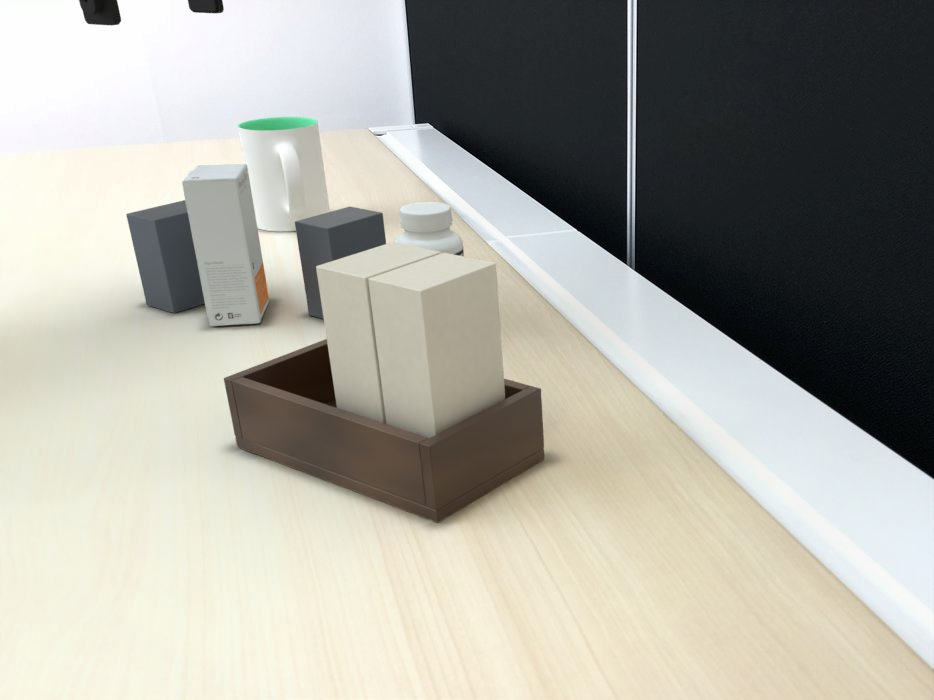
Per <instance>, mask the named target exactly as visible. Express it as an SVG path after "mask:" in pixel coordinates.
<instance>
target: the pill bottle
mask: <svg viewBox="0 0 934 700" xmlns="http://www.w3.org/2000/svg"><path fill="white" fill-rule="evenodd" d="M399 219H400V220H399V221H400V227H401V229H403V230H404V232H402V233H401V234H399V235H398V236H397V237H396V239H395V241H394V242H395V243H400V244H405V245H410V246H415V247H419V248H424V249H429V250H434V251H439V252H441V254H442V253H449V254H453V255H458V256H463V257H465V254H464V253H465V251H464V241H463V239H462V237H461V235H460V234H459V233H458V232H456V231H454V230H452V229H451V226H452V225H453V213H452V207H451V205H450V204H448V203H446V202H439V201H422V202H421V201H419V202H414V203H408V204H405V205H403V206H401V207H400V208H399Z"/></svg>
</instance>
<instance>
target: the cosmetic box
mask: <svg viewBox="0 0 934 700" xmlns="http://www.w3.org/2000/svg"><path fill="white" fill-rule="evenodd" d="M181 183H182V190H183V196H184V200H185V202H186V207H187V212H188V216H189V222H190V227H191V233H192V238H193V243H194V248H195V253H196V258H197V264H198V269H199V274H200V280H201V285H202V291H203V296H204V301H205V304H204V306H205V311H206V316H207V321H208V325H209V326H210V327H220V326H237V325H238V326H239V325H253V324H254V325H255V324H260V323H261V321H262V318H263V316H264V314H265V311H266V309H267V307H268V305H269V303H270V297H269V296H270V295H269V290H268V283H267V277H266V272H265V271H266V270H265V265H264V259H263V254H262V248H261V241H260V234H259V228H257V222H256V216H255V210H254V204H253V198H252V192H251V186H250V180H249V174H248V168H247V165H246V164H244V163H232V164H200V165H196V167H195V168H193V169H192V170H190V171H189V172H188V173H187V176H185V178H184V179H183V180H182V181H181Z"/></svg>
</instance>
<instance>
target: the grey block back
mask: <svg viewBox="0 0 934 700" xmlns="http://www.w3.org/2000/svg"><path fill="white" fill-rule="evenodd" d="M125 215H126V221H127V224H128V228H129V233H130V238H131V242H132V247H133V251H134V256H135V259H136V263H137V267H138V268H137V269H138V272H139V279H140V282H141V286H142V291H143V294H144V298H145V305H146V306H148V307H152V308H156V309H159V310H162V311H164V312H165V311H166V312H169V313H173V314H176V313H180V312H183V311H186V310H189V309H192V308H195V307H198V306H202V305H205V301H204V296H203V291H202V285H201V280H200V274H199V269H198V264H197V258H196V253H195V248H194V243H193V238H192V233H191V227H190V222H189V216H188V212H187V207H186V202H185V199H184V200H179V201H175V202H171V203H166V204H162V205H158V206H153V207H149V208H145V209H141V210H137V211H132V212H128V213H126V214H125Z"/></svg>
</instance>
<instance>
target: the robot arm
mask: <svg viewBox="0 0 934 700" xmlns="http://www.w3.org/2000/svg"><path fill="white" fill-rule="evenodd" d="M78 2H79V6H80V9H81V10H82V13H83V14H82V15H83V18H84V21H85V22H86V24H88V25H95V26H96V25H97V26H118V25H120V23H122V17H121V12H120V7H119V2H118V0H78ZM187 4H188V8H189V10H190V11H191V12H192V13H195V14H222V13H223V12H224V3H223V0H187Z"/></svg>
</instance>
